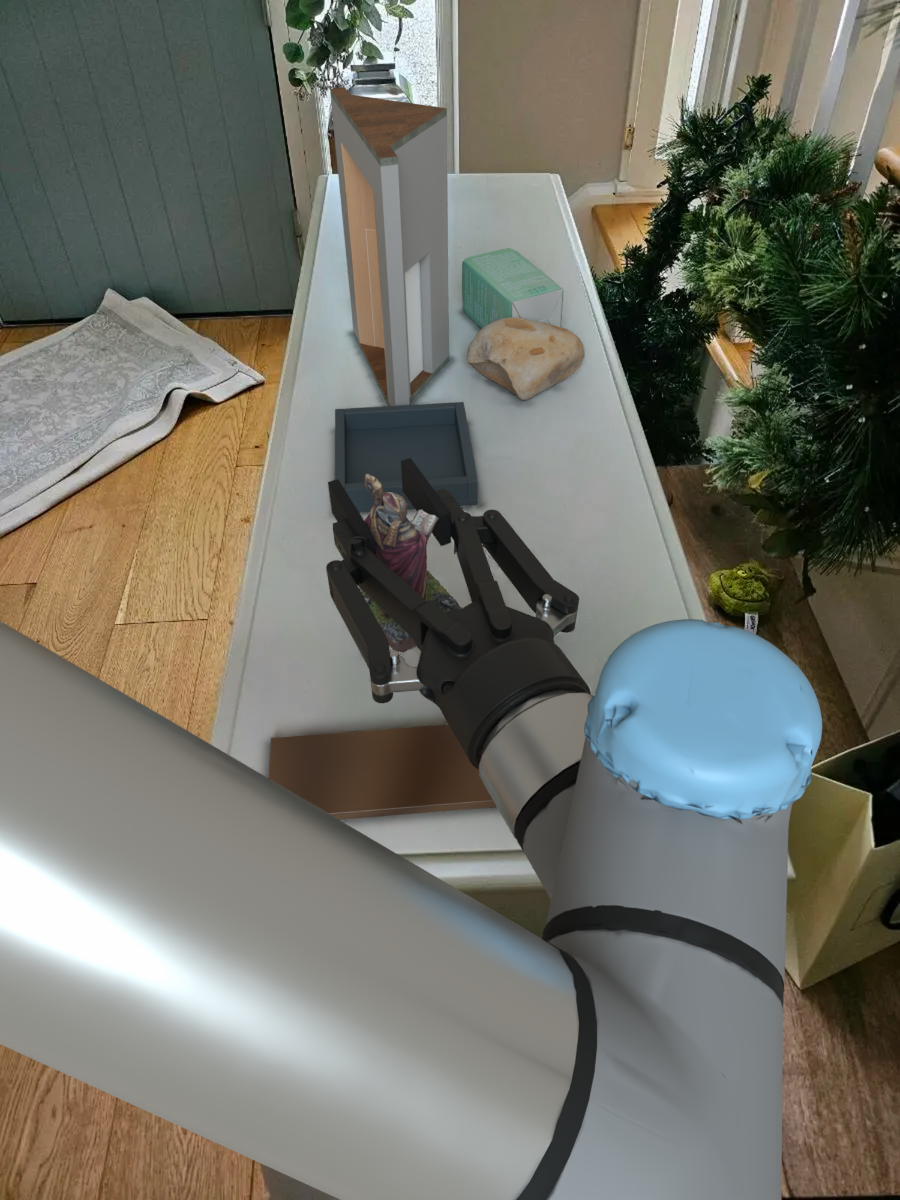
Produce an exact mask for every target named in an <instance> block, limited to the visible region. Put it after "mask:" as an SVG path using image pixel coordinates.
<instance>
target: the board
mask: <svg viewBox="0 0 900 1200" xmlns="http://www.w3.org/2000/svg"><path fill="white" fill-rule="evenodd" d="M268 778H269V779H271V780H272V781H274V782H276V783H277V784H279V785H281V786H283V787H284V788H286V789H288V790H289V791H291V792H293V793H294V794H296V795H298V796H300V797H301V798H303V799H305V800H306V801H308V802H310V803H311V804H313V805H315V806H317V807H318V808H320V809H322V810H323V811H325V812H327V813H328V814H330V815H332V816H334V817H335V818H337V819H339V820H340V821H343V820H357V819H368V818H380V817H392V816H404V815H415V814H416V815H417V814H427V813H428V814H429V813H441V812H451V811H462V810H463V811H464V810H476V809H477V810H478V809H487V808H497V806H496V805H495V803H494V801H493V799H492V798H491V796H490V794H489V792H488V791H487V789H486V787H485V785H484V784H483V782H482V780H481V778H480V777H479V770H478V769H477V768H475V767H474V766H473V765H472V764H471V762H470V761H469V759H468V757H467V755H466V754H465V752H464V750H463V749H462V747H461V745H460V743H459V742H458V740H457V738H456V737H455V735H454V733H453V731H452V730H451V728H450V726H449V725H448V723H443V724H433V725H432V724H431V725H418V726H406V727H405V726H404V727H393V728H392V727H391V728H380V729H379V728H378V729H367V730H354V731H339V732H327V733H315V734H314V733H313V734H303V735H301V734H300V735H289V736H288V735H287V736H277V737H275V736H274V737H271V738H270V748H269V765H268Z"/></svg>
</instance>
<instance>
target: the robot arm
mask: <svg viewBox="0 0 900 1200" xmlns="http://www.w3.org/2000/svg"><path fill="white" fill-rule="evenodd" d="M401 473H402V490H403V492H404V494H405V495H406V497H407V498H408V500H409V501H410V502H411V504H412V505H413V507H414V508H415V509H414V510H415V511H416V512H417V511H418V510H423V511H424V512H426V513H428V514H430V515H435V516H436V517H438V518H439V519H438V521H437V522H436V524H435V526H434V528H433V531H432V533H431V535H433V537H434V539H435V540H436V541H437V543H438V544H439V545H440V547H443V546H446V545H449V544H451V543H452V540H453V555H456V556H457V560H458V563H459V566H460V569H461V573H462V575H463V578H464V581H465V585H466V588H467V590H468V595H469V597H470V598H469V599H470V600H471V602H470V603H468V604H467V605H465V606H463V607H462V609H459V610H452V611H446V612H445V611H443V610H442V609H441V608H440V607H439V606H438V605H437V604H436V603H435V602H433V601H432V600H429V601H426V600H425V599H424V598H423V597H422V596H420V595H419V594H418V593H417V592H416V591H415V590H414V589H413V588H412V587H410V586H409V585H408V584H407V583H406V582H405V581H404V580H403V579H402V578H401V577H399V576H398V575H397V574H396V573H395V572H394V571H393V570H392V569H391V568H389V567H388V566H387V565H386V564H385V563H384V562H383V561H382V560H381V559H379V558H378V557H377V556H376V550H375V540H374V536H373V534H372V532H371V531H370V529H369V528H368V526H367V524H366V523H365V521H364V520H365V519H364V518H363V516H362V515H361V512H358V510H357V508H356V507H355V505H354V504H353V502H352V500H351V499H350V497H349V496H348V494H347V492H346V491H345V489H344V488H343V486H342V484H341V483H340V481H339V480H338V479H337V480H335V479H333V480H330V481H327V488H328V494H329V495H328V496H329V501H330V508H331V509H330V510H331V513H332V515H333V517H334V519H335V520H336V522H332V534H333V540H334V541H333V542H334V546H335V548H336V549H337V552H338V553H339V554H340V556H341V558H342V560H339V559H335V560H331V561H329V562H328V563H326V566H325V570H326V576H327V583H328V588H329V594H330V599H331V600H332V602H333V604H334V606H335V608H336V609H337V611H338V614H339V615H340V617H341V619H342V621H343V623H344V624H345V627H346V628H347V630H348V633H349V634H350V636H351V638H352V640H353V642H354V644H355V645H356V647H357V649H358V652H359V653H360V655H361V657H362V658H363V660H364V663H365V664H366V666H367V668H368V672H369V681H370V689H371V696H372V700H373V701H374V702H375V703H377V704H382V705H383V704H384V705H385V704H388V703H389V702H391V700H392V699H393V698H394V693H404V692H405V693H406V692H407V693H408V692H419V693H420V694H421V696H423V697H424V698H425V699H427V700H428V701H431V702H432V703H433V704H435V705H436V706H437V707H438V708H439V710H440V712H441V714H442V716H443V718H444V719H445V721H446V724H448V725H449V726H450V728H451V730H452V731H453V733H454V735H455V737H456V738H457V740H458V742H459V743H460V745H461V747H462V749H463V750H464V752H465V754H466V755H467V757H468V759H469V761H470V762H471V764H472V765H473V766H474V767H475V768H477V769H478V770H479V777H480V778H481V780H482V782H483V784H484V785H485V787H486V789H487V791H488V792H489V794H490V796H491V798H492V799H493V801H494V803H495V805H496V806H497V807H496V808H497V810H498V812H499V813H500V815H501V817H502V819H503V821H504V822H505V824H506V826H507V827H508V829H509V831H510V833H511V834H512V836H513V838H514V839H515V840H516V843H518V845H519V847H520V849H521V850H522V852H523V854H524V855H525V857H526V859H527V860H528V862H529V864H530V865H531V867H532V870H533V871H534V873H535V875H536V876H537V878H538V880H539V881H540V883H541V885H542V887H543V888H544V891H545V893H546V894H547V896H548V897H549V899H550V902H549V909H548V913H547V918H546V922H545V926H544V928H543V931H542V937H539V936H538V935H537V934H534V933H533V932H531V931H529V930H528V929H525V928H524V927H523V926H521V925H520V924H518V923H516V922H514V921H512V920H511V919H509V918H507V917H506V916H504V915H502V914H500V913H498V912H497V911H495V910H494V909H492V908H490V907H488V906H487V905H485V904H484V903H481V902H480V901H478V900H477V899H475V898H473V897H471V896H469V895H468V894H467V893H465V892H463V891H461V890H460V889H458V888H456V887H454V886H453V885H451V884H450V883H448V882H446V881H445V880H442V879H441V878H439V877H437V876H435V875H434V874H432V873H430V872H429V871H428V870H426V869H424V868H422V867H420V866H419V865H417V864H415V863H414V862H412V861H410V860H409V859H407V858H405V857H403V856H402V855H400V854H399V853H396V852H395V851H394V850H391V849H390V848H388V847H386V846H385V845H383V844H381V843H379V842H378V841H376V840H375V839H373V838H371V837H369V836H367V835H366V834H365V833H362V832H361V831H359V830H357V829H356V828H354V827H352V826H350V825H348V824H347V823H345V822H343V820H339V819H337V818H335V817H334V816H332V815H330V814H328V813H327V812H325V811H323V810H322V809H320V808H318V807H317V806H315V805H313V804H311V803H310V802H308V801H306V800H305V799H303V798H301V797H300V796H298V795H296V794H294V793H293V792H291V791H289V790H288V789H286V788H284V787H283V786H281V785H279V784H277V783H276V782H274V781H272V780H271V779H269V777H268V776H265V775H264V774H262V773H261V772H259V771H257V770H256V769H253V768H252V767H250V766H249V765H246V764H245V763H243V762H242V761H240V760H239V759H236V758H235V757H233V756H231V755H230V754H228V753H226V752H225V751H223V750H221V749H220V748H218V747H216V746H214V745H213V744H212V743H209V742H208V741H206V740H205V739H202V738H201V737H199V736H197V735H195V734H194V733H193V732H191V731H189V730H188V729H186V728H184V727H182V726H180V725H179V724H178V723H175V722H173V721H172V720H170V719H169V718H167V717H165V716H163V715H162V714H160V713H158V712H157V711H155V710H154V709H152V708H150V707H148V706H146V705H145V704H143V703H141V702H139V701H138V700H136V699H134V698H133V697H131V696H129V695H128V694H126V693H125V692H122V691H121V690H119V689H117V688H116V687H114V686H113V685H111V684H109V683H107V682H106V681H104V680H102V679H101V678H99V677H97V676H95V675H94V674H92V673H90V672H88V671H87V670H85V669H83V668H81V667H80V666H79V665H77V664H75V663H73V662H72V661H70V660H68V659H67V658H65V657H63V656H62V655H59V654H58V653H56V652H55V651H53V650H51V649H50V648H48V647H46V646H44V645H43V644H41V643H40V642H37V641H36V640H34V639H33V638H30V637H29V636H27V635H26V634H24V633H22V632H21V631H19V630H17V629H15V628H14V627H12V626H10V625H9V624H8V623H5V622H4V621H2V620H0V1045H1V1046H2V1047H6V1048H7V1049H10V1050H11V1051H14V1052H16V1053H18V1054H20V1055H23V1056H25V1057H27V1058H29V1059H31V1060H34V1061H36V1062H38V1063H40V1064H43V1065H44V1066H46V1067H49V1068H51V1069H54V1070H56V1071H57V1072H60V1073H61V1074H64V1075H67V1076H69V1077H71V1078H74V1080H75V1079H76V1080H77V1081H80V1082H82V1083H84V1084H86V1085H89V1086H90V1087H93V1088H94V1089H97V1090H98V1091H99V1090H100V1091H102V1092H104V1093H106V1094H108V1095H110V1096H113V1097H115V1098H117V1099H119V1100H121V1101H123V1102H126V1103H128V1104H129V1105H132V1106H135V1107H137V1108H139V1109H141V1110H143V1111H145V1112H147V1113H150V1114H152V1115H154V1116H156V1117H159V1118H161V1119H162V1120H165V1121H167V1122H170V1123H171V1124H174V1125H176V1126H178V1127H180V1128H182V1129H185V1130H187V1131H190V1132H191V1133H193V1134H195V1135H198V1136H200V1137H202V1138H205V1139H206V1140H209V1141H210V1142H213V1143H216V1144H217V1145H220V1146H222V1147H224V1148H226V1149H228V1150H231V1151H232V1152H235V1153H238V1154H240V1155H242V1156H244V1157H246V1158H248V1159H250V1160H253V1161H255V1162H257V1163H259V1164H261V1165H263V1166H266V1167H268V1168H270V1169H272V1170H274V1171H276V1172H279V1173H281V1174H283V1175H285V1176H288V1177H290V1178H291V1179H294V1180H297V1181H299V1182H301V1183H303V1184H306V1185H307V1186H309V1187H312V1188H314V1189H316V1190H318V1191H320V1192H323V1193H325V1194H327V1195H330V1196H331V1197H334V1198H336V1199H338V1200H782V1192H783V1191H782V1187H783V1186H782V1185H783V1184H782V1179H783V1177H782V1176H783V1174H782V1173H783V1172H782V1171H783V1072H784V1071H783V1069H784V1068H783V1066H784V1065H783V1064H784V1063H783V1061H784V1060H783V1059H784V1058H783V1057H784V1055H783V1054H784V1052H783V1051H784V1002H785V1001H784V1000H785V999H784V997H785V995H784V994H785V979H786V978H785V973H786V972H785V971H786V943H787V942H786V941H787V940H786V938H787V905H788V904H787V903H788V901H787V899H788V870H789V869H788V865H789V864H788V863H789V826H790V820H791V819H790V817H791V813H792V808H793V804H794V802H796V801H797V800H799V799H801V798H802V797H803V795H804V793H805V791H806V788H807V787H808V786H809V785H810V783H811V781H812V775H813V771H812V766H813V764H814V761H815V758H816V755H817V753H818V750H819V747H820V744H821V740H822V736H823V717H822V711H821V706H820V704H819V700H818V697H817V694H816V693H815V690H814V688H813V686H812V684H811V682H810V681H809V679H808V677H807V676H806V675H805V673H804V672H803V671H802V670H801V668H800V667H799V666H798V664H796V663H795V662H794V661H793V660H792V659H791V658H790V657H789V656H788V655H787V654H785V653H784V652H783V651H781V650H780V649H779V648H778V647H777V646H775V645H774V644H773V643H771V642H770V641H768V640H766V639H765V638H763V637H761V636H760V635H757V634H755V633H754V632H751V631H749V630H747V629H744V628H740V627H737V626H733V625H724V624H722V623H720V622H717V621H715V622H709V621H706V620H704V619H695V618H686V619H684V618H683V619H672V620H667V621H663V622H658V623H655V624H652V625H649V626H646V627H644V628H642V629H640V630H638V631H636V632H634V633H633V634H631V635H630V636H628V637H627V638H625V639H624V640H623V641H622V642H621V643H619V645H617V646H616V647H615V649H614V650H613V651H612V652H611V654H609V656H608V657H607V660H606V661H605V663H604V665H603V667H602V669H601V671H600V673H599V678H598V681H597V685H596V688H595V693H594V695H593V694H592V691H591V688H590V686H589V685H588V683H587V682H586V681H585V680H584V678H583V677H582V675H581V674H580V673H579V671H578V669H576V667H575V666H574V664H573V663H572V662H571V661H570V660H569V658H568V657H567V655H566V654H565V652H564V651H563V649H561V647H559V646H558V645H557V644H556V643H555V637H556V636H557V635H558V634H560V633H564V634H568V633H571V632H573V631H574V630H575V629H576V624H577V619H578V618H577V617H578V611H579V610H578V609H579V604H580V596H579V595H578V594H577V593H576V592H575V591H573V590H571V589H570V588H569V587H567V586H565V585H563V584H562V583H561V582H559V581H557V580H556V579H554V578H553V576H551V574H550V573H549V572H548V570H547V569H546V568H545V566H543V564H542V562H541V561H540V560H539V559H538V558H537V556H535V554H534V553H533V551H531V549H530V548H529V546H528V545H527V544H526V543H525V541H524V540H523V539H522V538H521V536H519V534H518V533H517V532H516V530H515V529H514V528H513V527H512V526H511V524H510V523H509V521H507V519H506V518H505V517H504V515H503V514H502V513H501V512H500V511H499V510H496V509H487V510H485V511H484V512H483V514H482V515H476V516H475V515H472V514H471V513H470V512H467V511H465V510H464V509H463V508H462V506H460V505H459V504H458V502H457V501H456V500H455V499H454V497H453V496H452V495H451V493H450V492H449V491H447V490H445V489H441V490H437V491H435V490H434V489H433V488H432V486H431V485H430V483H429V482H428V481H427V479H426V478H425V477H424V475H423V474H422V473H421V471H420V470H419V469H418V467H417V466H416V464H415V463H414V462H413V460H412V459H411V458H408V459H405V460H402V461H401ZM485 550H486V551H487V553H488V554H489V555H490V557H491V558H492V560H494V562H495V564H496V565H497V566H498V567H499V569H500V570H501V571H502V572H503V574H504V575H505V577H506V578H507V580H509V582H510V583H511V584H512V586H513V587H514V589H515V590H516V591H517V593H518V594H519V595H520V597H521V598H522V599H523V601H524V602H525V603H526V605H527V606H528V607H529V609H530V610H531V611H532V612H533V613H534V614H535V616H534V615H531V614H529V613H526V612H523V611H520V610H518V609H516V608H512V607H510V606H507V604H506V602H505V599H504V597H503V593H502V590H501V588H500V585H499V582H498V580H495V577H494V574H493V572H492V569H491V566H490V564H489V560H488V558H487V555H486V552H485ZM359 588H361V589H362V590H363V591H364V592H365V593H366V594H367V595H368V596H369V597H370V598H371V599H372V600H373V601H374V602H375V603H376V604H377V605H378V606H379V607H381V608H382V609H383V610H384V611H385V612H386V613H387V614H388V615H389V616H390V617H391V618H392V619H393V620H394V621H395V622H396V623H397V624H398V625H399V626H400V627H401V628H403V629H404V630H405V631H406V632H407V633H408V634H409V635H410V636H411V637H412V638H413V640H414V642H415V645H416V647H417V649H418V650H419V651H420V654H419V658H418V663H417V665H416V666H411V665H409V664H408V663H407V662H406V660H405V658H404V657H403V655H401V654H400V652H398V651H396V650H392V649H391V648H390V646H389V644H388V640H387V638H386V636H385V634H384V632H383V630H382V628H381V626H380V625H379V623H378V621H377V619H376V618H375V616H374V614H373V612H372V611H371V609H370V607H369V605H368V604H367V602H366V600H365V598H364V596H363V595H362V593H361V591H360V589H359ZM390 649H391V650H390Z"/></svg>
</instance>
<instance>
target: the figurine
mask: <svg viewBox="0 0 900 1200" xmlns="http://www.w3.org/2000/svg"><path fill="white" fill-rule="evenodd" d="M365 485H366V488H367V490H368V491H369V492H371V495H372V497H373V498H374V501H375V504H373V506H372V508H371V510H370V512H368V514H367V516H366V517H365V519H363V520H364V521H365V523H366V524H367V526H368V528H369V529H370V531H371V532H372V534H373V536H374V540H375V550H376V556H377V557H378V558H379V559H381V560H382V561H383V562H384V563H385V564H386V565H387V566H388V567H389V568H391V569H392V570H393V571H394V572H395V573H396V574H397V575H398V576H399V577H401V578H402V579H403V580H404V581H405V582H406V583H407V584H408V585H409V586H410V587H412V588H413V589H414V590H415V591H416V592H417V593H418V594H419V595H420V596H422V597H423V598H424V599H425V600H426V601H429V600H432V601H433V602H435V603H436V604H437V605H438V606H439V607H440V608H441V609H442V610H443V611H445V612H446V611H452V610H459V609H462V608H463V607H461V606H460V604H459V602H458V600H457V599H456V598H454V596H453V595H452V594H450V592H449V591H448V589H446V588H445V587H444V586H443V585H442V584H441V583H440V581H439V580H438V579H436V577H435V576H434V575H433V574H432V573H431V572H430V570H428V563H427V562H428V561H427V560H428V555H427V554H428V552H427V550H428V542H429V539H430V537H431V535H432V531H433V528H434V526H435V524H436V522H437V521H438V519H439V518H438V517H436V516H435V515H430V514H428V513H426V512H424V511H423V510H418V511H416V513H415V514H414V516H413V518H412V519H411V520H410V519H409V518H408V517H407V515H408V509H407V506H408V504H407V503H406V502H405V500H404V498H403V497H402V496H400V495H398V494H395V493H393V492H387V493H385V492H384V491H383V488H382V485H381V483H380V482H379V481H378V479H377V478H375V477H373V476H371V475H369V474H366V476H365ZM358 588H359V589H360V591H361V593H362V595H363V596H364V598H365V600H366V602H367V604H368V605H369V607H370V609H371V611H372V612H373V614H374V616H375V618H376V619H377V621H378V623H379V625H380V626H381V628H382V630H383V632H384V634H385V636H386V638H387V640H388V644H389V648H390V649H391V651H392V650H396V651H398V652H399V654H401V653H402V654H404V653H406V652H407V651H410V650H413V649H414V648H416V647H417V646H416V645H415V642H414V640H413V638H412V637H411V636H410V635H409V634H408V633H407V632H406V631H405V630H404V629H403V628H401V627H400V626H399V625H398V624H397V623H396V622H395V621H394V620H393V619H392V618H391V617H390V616H389V615H388V614H387V613H386V612H385V611H384V610H383V609H382V608H381V607H379V606H378V605H377V604H376V603H375V602H374V601H373V600H372V599H371V598H370V597H369V596H368V595H367V594H366V593H365V592H364V591H363V590H362V589H361V588H360V587H358Z"/></svg>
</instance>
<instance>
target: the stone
mask: <svg viewBox="0 0 900 1200" xmlns="http://www.w3.org/2000/svg"><path fill="white" fill-rule="evenodd" d="M584 346H585V345H584V344H583V341H582V340H581V338H580V337H579V336H578V335H577V334H575V333H574V332H573V331H572V330H570V329H568V328H566V327H562V326H561V327H558V326H555V325H551V324H547V323H543V322H538V321H533V320H528V319H523V318H514V317H511V318H503V319H499V320H497V321H494V322H492V323H490V324H488V325H486V326H485V327H483V328H482V329H481V328H480V330H479V331H478V332H477V333H476V334H475V336H474V338H473V339H472V340H471V341H470V343H469V346H468V348H467V352H466V363H467V364H468V365H471V367H473V368H474V369H475V370H476V371H477V372H478V373H480V375H483V376H484V377H486V378H487V379H489V380H491V381H492V382H494V383H497V384H498V385H500V386H501V387H503V388H505V389H507V390H508V391H509V392H511V394H514V395H515V394H516V395H517V397H518V398H519V400H521V401H522V400H523V401H526V400H527V401H528V400H530V399H532V398H534V397H535V396H537V395H539V394H540V393H542V392H543V391H546V390H547V389H549V388H551V387H553V386H555V385H556V384H559V383H560V382H562V381H564V380H566V379H567V378H569V377H570V376H572V375H573V374H574V373H575V372H577V370H579V369H580V367H581V366H582V364H583V362H584V359H585V356H586V355H585V352H586V351H585V347H584Z"/></svg>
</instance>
